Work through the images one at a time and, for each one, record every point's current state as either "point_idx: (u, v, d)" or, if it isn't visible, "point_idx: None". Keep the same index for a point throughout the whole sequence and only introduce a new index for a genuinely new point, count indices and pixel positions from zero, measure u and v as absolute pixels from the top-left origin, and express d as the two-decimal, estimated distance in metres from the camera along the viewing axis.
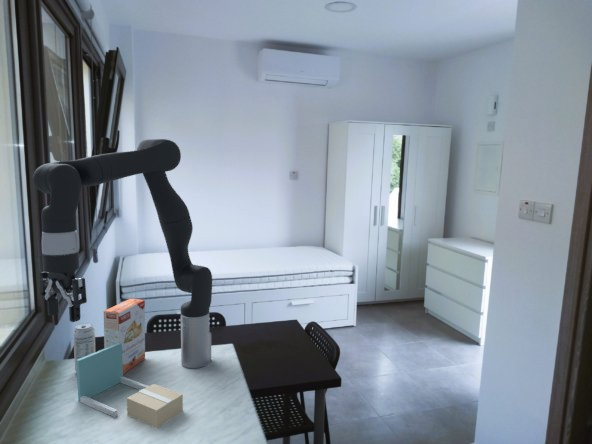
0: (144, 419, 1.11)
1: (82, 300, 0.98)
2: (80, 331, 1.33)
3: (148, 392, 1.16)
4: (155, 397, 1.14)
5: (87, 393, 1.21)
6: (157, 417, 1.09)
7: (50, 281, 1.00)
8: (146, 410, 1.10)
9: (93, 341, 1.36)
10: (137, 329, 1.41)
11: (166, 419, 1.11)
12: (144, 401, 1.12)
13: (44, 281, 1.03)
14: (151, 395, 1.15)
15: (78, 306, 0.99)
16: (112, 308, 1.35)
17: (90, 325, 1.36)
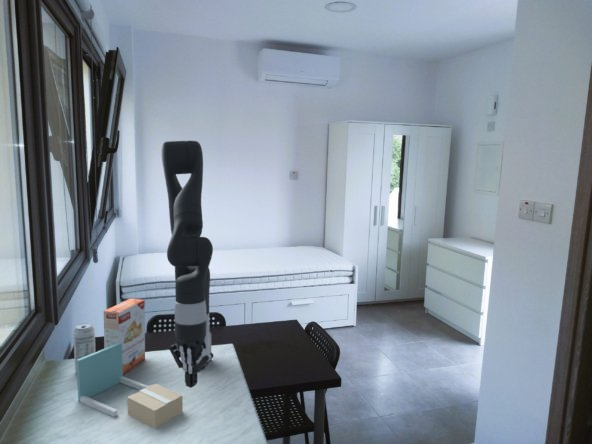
0: (143, 419, 1.11)
1: (201, 369, 1.05)
2: (80, 331, 1.33)
3: (149, 392, 1.16)
4: (154, 397, 1.14)
5: (87, 393, 1.21)
6: (156, 417, 1.08)
7: (181, 348, 1.05)
8: (145, 410, 1.10)
9: (93, 341, 1.36)
10: (137, 328, 1.41)
11: (165, 420, 1.11)
12: (143, 400, 1.12)
13: (176, 353, 1.08)
14: (151, 395, 1.15)
15: (196, 372, 1.06)
16: (112, 308, 1.35)
17: (90, 325, 1.36)
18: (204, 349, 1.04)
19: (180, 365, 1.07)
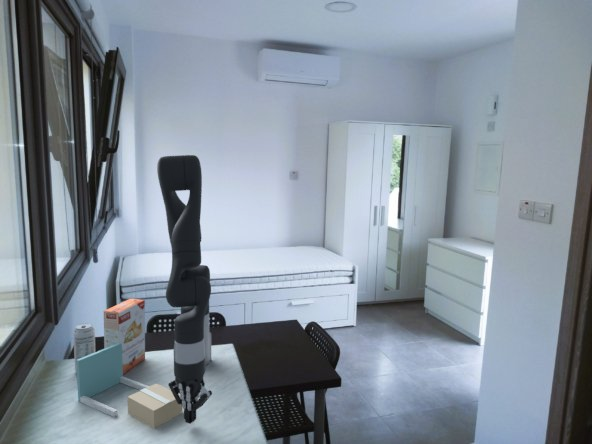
0: (143, 419, 1.11)
1: (200, 406, 1.07)
2: (80, 331, 1.33)
3: (149, 392, 1.16)
4: (154, 397, 1.14)
5: (87, 393, 1.21)
6: (155, 417, 1.08)
7: (180, 385, 1.07)
8: (144, 410, 1.10)
9: (93, 341, 1.36)
10: (137, 329, 1.41)
11: (164, 420, 1.11)
12: (143, 400, 1.12)
13: (175, 389, 1.09)
14: (151, 395, 1.15)
15: None
16: (112, 308, 1.35)
17: (90, 325, 1.36)
18: (203, 387, 1.06)
19: (179, 401, 1.08)
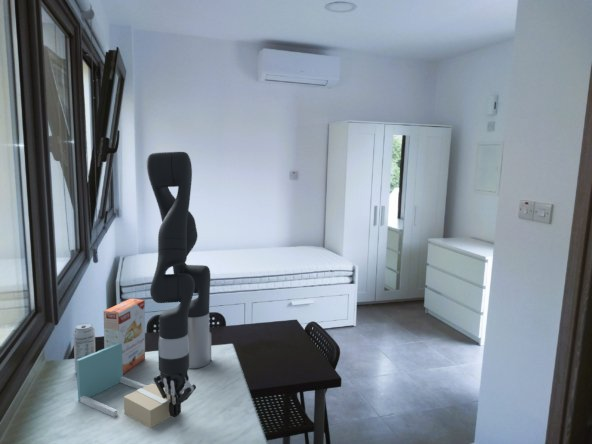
0: (139, 418, 1.11)
1: (184, 400, 1.10)
2: (80, 331, 1.33)
3: (145, 391, 1.16)
4: (151, 397, 1.14)
5: (87, 393, 1.21)
6: (151, 417, 1.08)
7: (164, 380, 1.09)
8: (141, 409, 1.10)
9: (93, 341, 1.36)
10: (137, 329, 1.41)
11: (161, 419, 1.11)
12: (140, 400, 1.12)
13: (160, 383, 1.12)
14: (147, 395, 1.15)
15: None
16: (112, 308, 1.35)
17: (90, 325, 1.36)
18: (187, 381, 1.08)
19: (164, 396, 1.11)
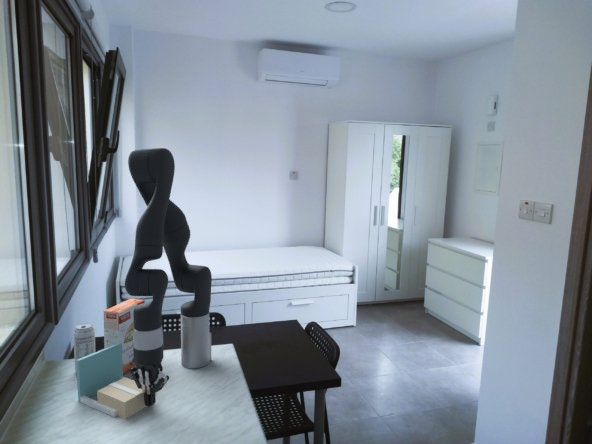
0: None
1: (158, 390, 1.14)
2: (80, 331, 1.33)
3: (118, 385, 1.20)
4: (124, 390, 1.17)
5: (87, 393, 1.21)
6: (126, 408, 1.12)
7: (139, 371, 1.14)
8: (115, 402, 1.14)
9: (93, 341, 1.36)
10: None
11: (135, 411, 1.15)
12: (113, 393, 1.16)
13: (136, 374, 1.16)
14: (121, 388, 1.18)
15: None
16: (112, 308, 1.35)
17: (90, 325, 1.36)
18: (160, 372, 1.13)
19: (139, 386, 1.16)
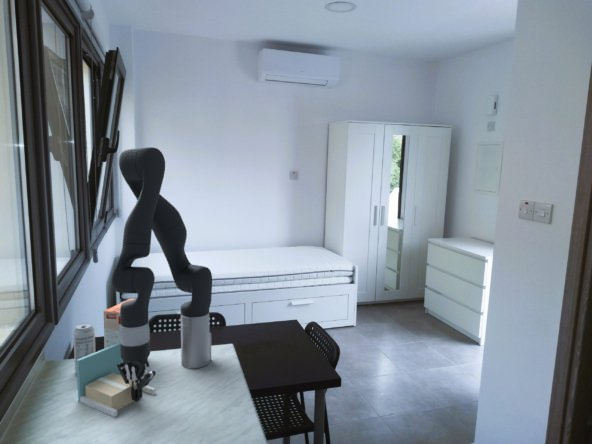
0: None
1: (145, 385, 1.17)
2: (80, 331, 1.33)
3: (106, 380, 1.22)
4: (112, 384, 1.20)
5: None
6: (113, 402, 1.15)
7: (126, 366, 1.16)
8: (102, 396, 1.16)
9: (93, 341, 1.36)
10: None
11: (122, 405, 1.17)
12: (101, 388, 1.18)
13: (123, 370, 1.19)
14: (109, 383, 1.21)
15: (141, 388, 1.18)
16: (112, 308, 1.35)
17: (90, 325, 1.36)
18: (147, 367, 1.15)
19: (126, 381, 1.18)
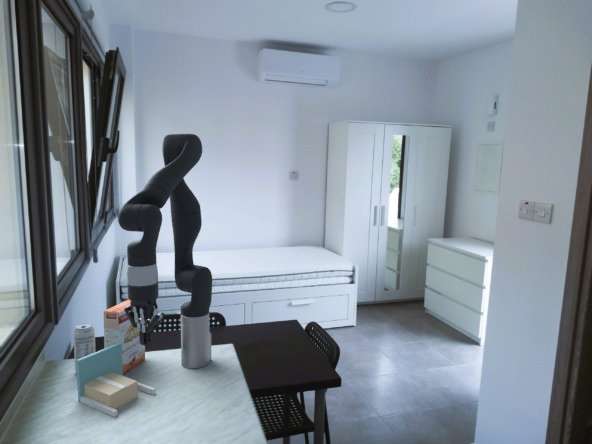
0: None
1: (154, 328, 1.12)
2: (80, 331, 1.33)
3: (104, 379, 1.23)
4: (110, 383, 1.20)
5: None
6: (111, 401, 1.15)
7: (134, 308, 1.12)
8: (100, 395, 1.16)
9: (93, 341, 1.36)
10: None
11: (120, 404, 1.18)
12: (99, 387, 1.19)
13: (131, 313, 1.15)
14: (107, 382, 1.21)
15: (149, 331, 1.14)
16: (112, 308, 1.35)
17: (90, 325, 1.36)
18: (155, 309, 1.11)
19: (134, 325, 1.14)
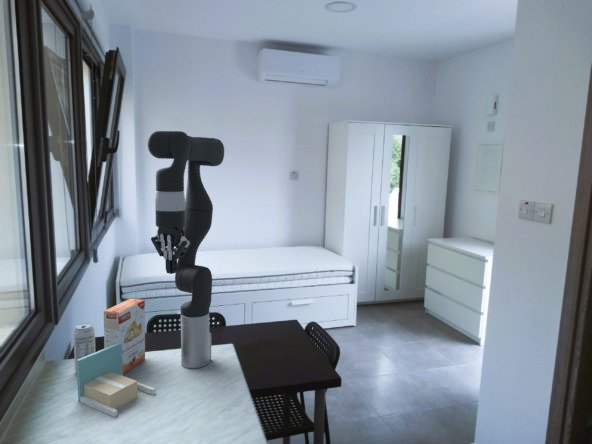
0: None
1: (180, 256, 1.13)
2: (80, 331, 1.33)
3: (104, 379, 1.23)
4: (110, 383, 1.20)
5: None
6: (111, 401, 1.15)
7: (161, 236, 1.13)
8: (100, 395, 1.16)
9: (93, 341, 1.36)
10: (137, 329, 1.41)
11: (120, 404, 1.18)
12: (99, 387, 1.19)
13: (157, 243, 1.16)
14: (107, 382, 1.21)
15: (176, 260, 1.14)
16: (112, 308, 1.35)
17: (90, 325, 1.36)
18: (183, 236, 1.12)
19: (161, 253, 1.15)
